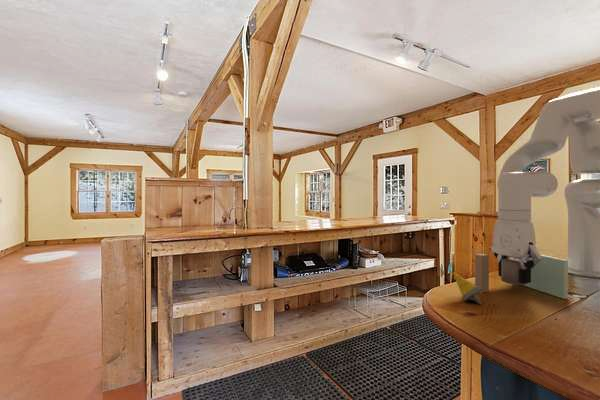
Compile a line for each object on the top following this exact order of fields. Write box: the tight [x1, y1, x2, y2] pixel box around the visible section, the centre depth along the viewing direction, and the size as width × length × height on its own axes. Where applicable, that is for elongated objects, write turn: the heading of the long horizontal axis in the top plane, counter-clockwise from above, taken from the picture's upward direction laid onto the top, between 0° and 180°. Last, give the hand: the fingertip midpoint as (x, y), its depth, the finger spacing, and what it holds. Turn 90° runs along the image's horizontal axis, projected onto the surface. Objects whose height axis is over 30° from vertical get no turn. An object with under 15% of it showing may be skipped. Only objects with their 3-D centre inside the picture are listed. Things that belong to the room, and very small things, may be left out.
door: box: [514, 253, 569, 300], centre depth 85 cm, size 15×1×10 cm, turn 10°
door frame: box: [474, 245, 539, 294], centre depth 90 cm, size 28×2×10 cm, turn 115°
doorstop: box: [500, 257, 527, 286], centre depth 85 cm, size 6×6×6 cm
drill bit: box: [452, 271, 483, 305], centre depth 78 cm, size 5×5×10 cm
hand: (514, 278), depth 85 cm, fingers closed on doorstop, 6 cm apart
